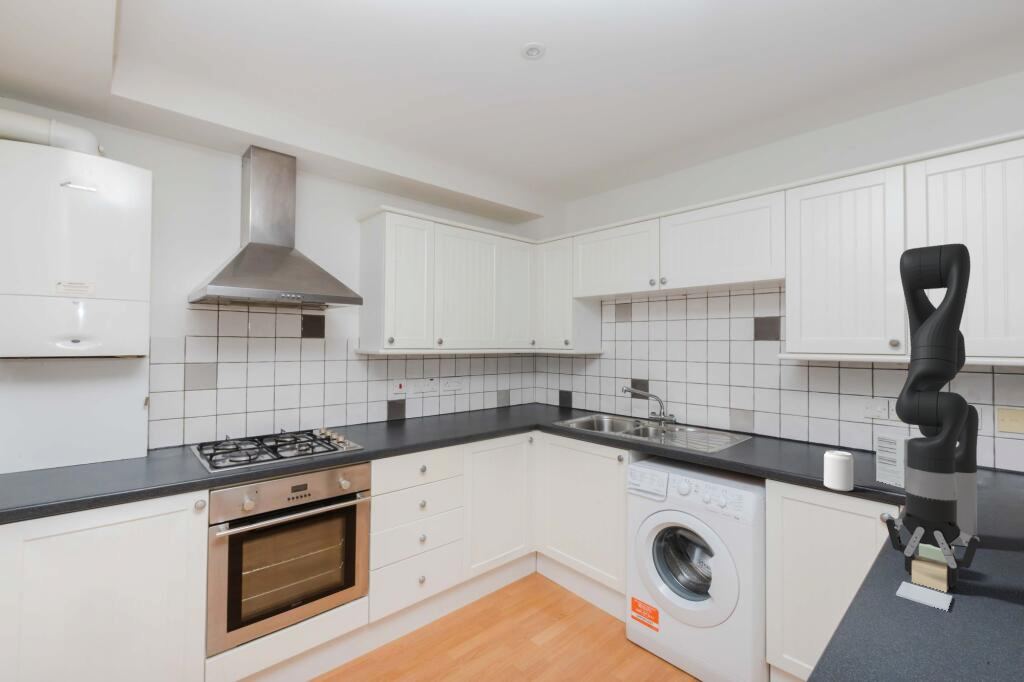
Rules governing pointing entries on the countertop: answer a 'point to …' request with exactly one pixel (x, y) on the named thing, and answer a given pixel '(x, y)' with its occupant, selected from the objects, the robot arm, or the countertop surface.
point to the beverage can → (838, 470)
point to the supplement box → (892, 459)
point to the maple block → (930, 573)
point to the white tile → (924, 596)
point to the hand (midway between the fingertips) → (930, 579)
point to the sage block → (931, 552)
